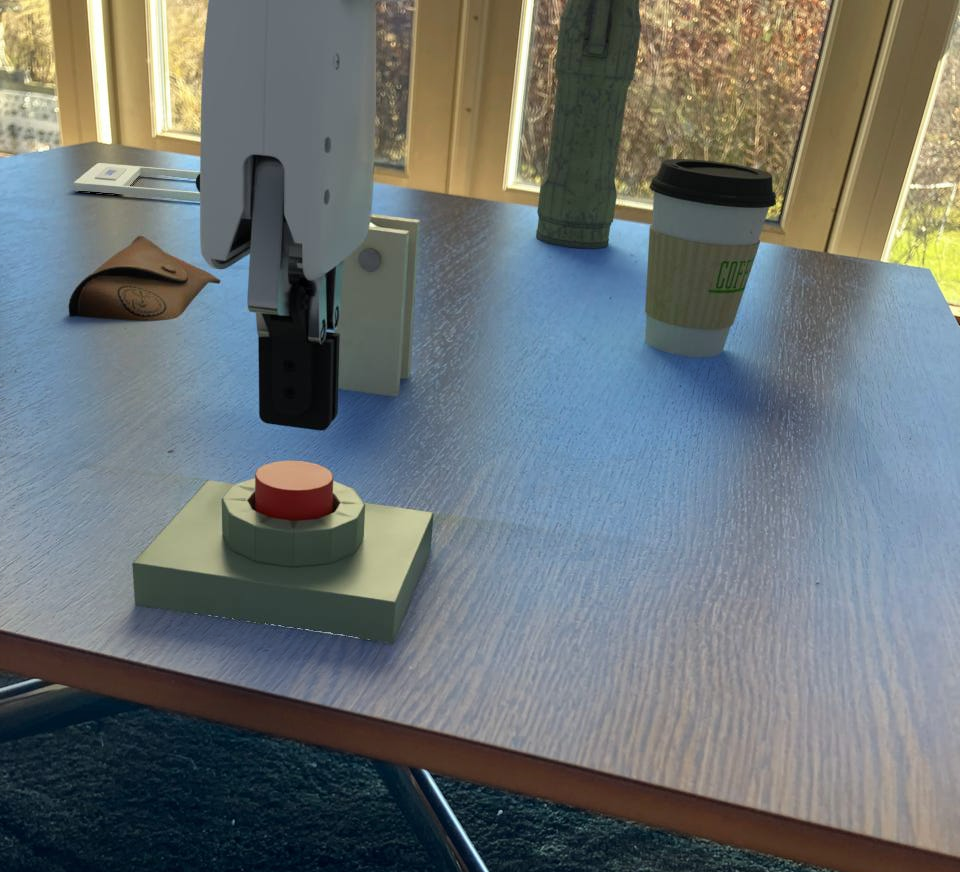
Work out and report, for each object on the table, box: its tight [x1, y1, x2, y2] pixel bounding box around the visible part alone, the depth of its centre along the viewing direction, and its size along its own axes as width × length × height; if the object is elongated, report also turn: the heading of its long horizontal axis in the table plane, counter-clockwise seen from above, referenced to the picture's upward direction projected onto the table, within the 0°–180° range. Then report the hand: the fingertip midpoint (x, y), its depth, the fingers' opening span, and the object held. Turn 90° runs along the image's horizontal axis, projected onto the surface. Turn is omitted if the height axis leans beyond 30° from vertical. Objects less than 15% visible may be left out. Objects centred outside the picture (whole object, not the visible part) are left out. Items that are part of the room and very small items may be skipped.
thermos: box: [535, 0, 642, 250], centre depth 125 cm, size 9×12×35 cm
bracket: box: [333, 213, 421, 398], centre depth 76 cm, size 10×8×12 cm
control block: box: [131, 477, 435, 645], centre depth 54 cm, size 12×10×4 cm
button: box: [254, 460, 334, 521], centre depth 53 cm, size 4×4×2 cm
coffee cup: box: [644, 158, 777, 358], centre depth 91 cm, size 10×10×15 cm
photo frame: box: [73, 162, 200, 203], centre depth 137 cm, size 15×1×18 cm
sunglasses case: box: [68, 235, 221, 322], centre depth 92 cm, size 18×7×7 cm
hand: (298, 420), depth 51 cm, fingers closed
